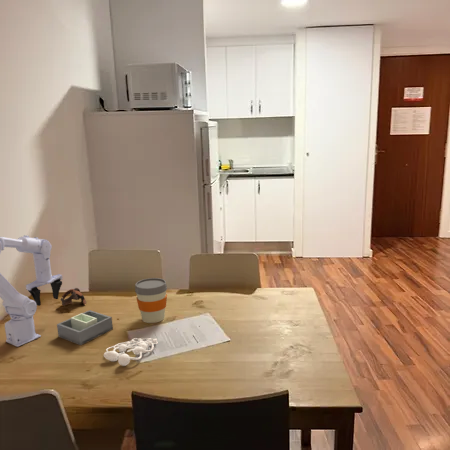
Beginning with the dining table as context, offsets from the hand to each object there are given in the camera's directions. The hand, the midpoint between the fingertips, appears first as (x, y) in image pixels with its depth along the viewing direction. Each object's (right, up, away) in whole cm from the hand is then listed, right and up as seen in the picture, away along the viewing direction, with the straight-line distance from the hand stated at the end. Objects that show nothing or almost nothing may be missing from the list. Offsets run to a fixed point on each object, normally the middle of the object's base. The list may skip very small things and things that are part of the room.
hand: (47, 301), depth 176 cm
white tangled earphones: (+38, -14, -23) cm, 46 cm away
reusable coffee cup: (+41, -8, +4) cm, 42 cm away
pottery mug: (+4, -5, +21) cm, 22 cm away
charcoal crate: (+17, -11, -7) cm, 22 cm away
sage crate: (+17, -10, -7) cm, 21 cm away
